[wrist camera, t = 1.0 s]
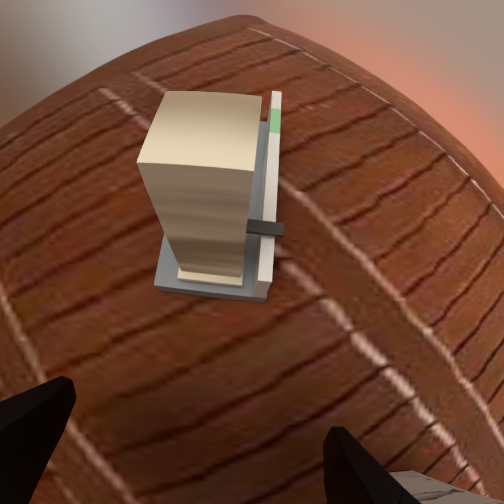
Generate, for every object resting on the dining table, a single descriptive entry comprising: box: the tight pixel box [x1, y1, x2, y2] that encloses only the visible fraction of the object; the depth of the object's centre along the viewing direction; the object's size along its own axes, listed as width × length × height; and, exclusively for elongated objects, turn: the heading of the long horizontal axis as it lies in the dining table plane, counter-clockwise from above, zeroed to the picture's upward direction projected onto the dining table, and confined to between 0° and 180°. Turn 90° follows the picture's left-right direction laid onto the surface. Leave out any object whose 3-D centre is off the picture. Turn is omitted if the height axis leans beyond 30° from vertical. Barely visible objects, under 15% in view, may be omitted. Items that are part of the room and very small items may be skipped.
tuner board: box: [154, 91, 281, 303], centre depth 23 cm, size 17×8×6 cm, turn 175°
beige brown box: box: [137, 91, 284, 288], centre depth 16 cm, size 5×6×12 cm
